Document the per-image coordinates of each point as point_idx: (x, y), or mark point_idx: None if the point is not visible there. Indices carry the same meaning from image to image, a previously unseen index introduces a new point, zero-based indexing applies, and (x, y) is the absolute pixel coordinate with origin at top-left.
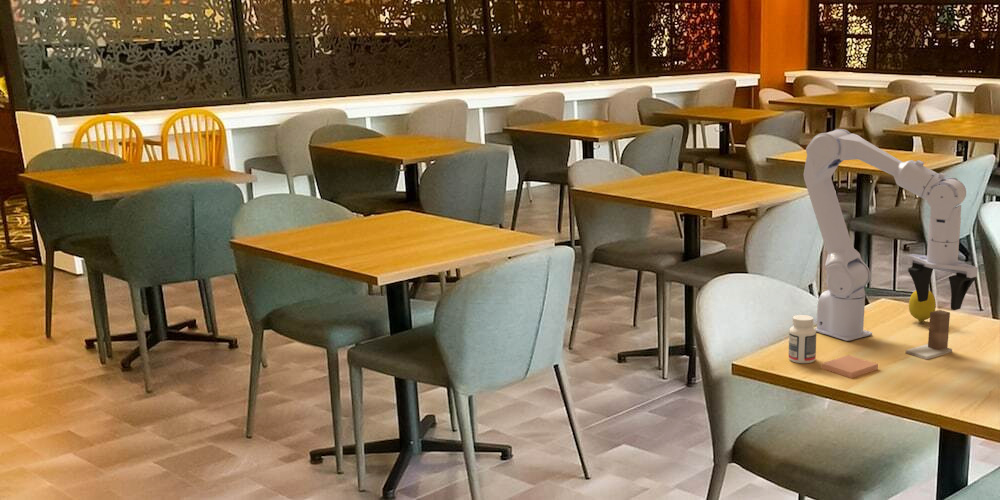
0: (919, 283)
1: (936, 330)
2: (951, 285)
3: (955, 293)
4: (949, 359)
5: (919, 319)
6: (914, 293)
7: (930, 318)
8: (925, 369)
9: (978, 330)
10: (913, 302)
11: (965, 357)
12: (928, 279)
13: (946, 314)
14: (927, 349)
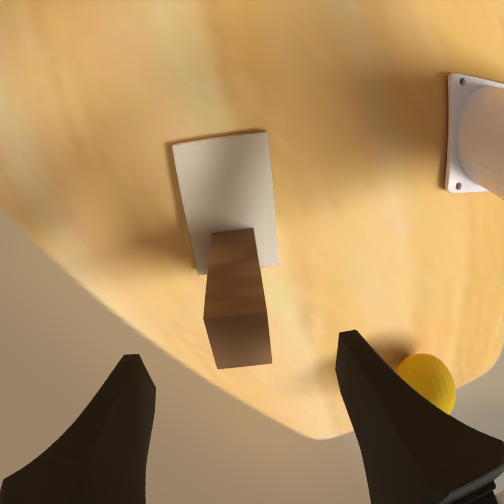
0: (385, 417)
1: (222, 268)
2: (71, 471)
3: (72, 428)
4: (143, 211)
5: (409, 357)
6: (450, 398)
7: (259, 292)
8: (100, 70)
9: (292, 407)
10: (439, 377)
11: (141, 265)
12: (369, 469)
13: (213, 349)
14: (233, 206)
